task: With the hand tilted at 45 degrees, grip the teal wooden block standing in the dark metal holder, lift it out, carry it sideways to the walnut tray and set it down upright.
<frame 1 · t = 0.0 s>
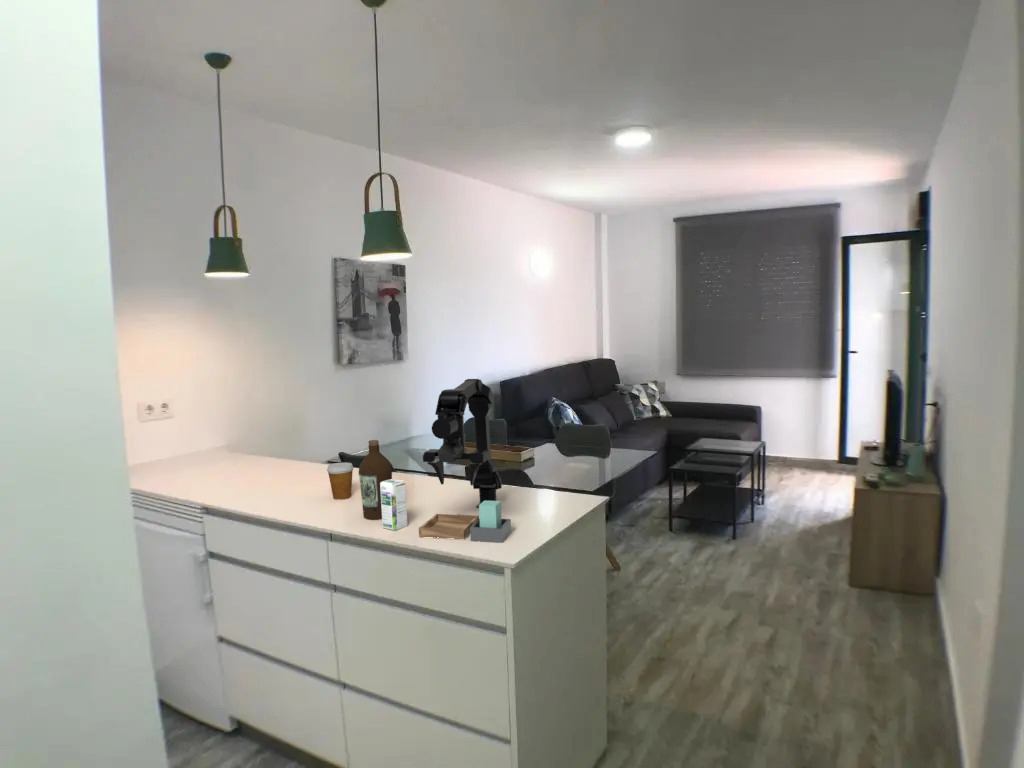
hand: (457, 484, 198), 15 cm above the counter, tool pointing down, fingers open, 9 cm apart
block: (490, 519, 195), in the holder
disposable coffee cup: (342, 497, 245), on the counter
syrup box: (395, 527, 208), on the counter
holder: (491, 536, 195), on the counter
tray: (449, 530, 202), on the counter
olive oil: (377, 516, 221), on the counter
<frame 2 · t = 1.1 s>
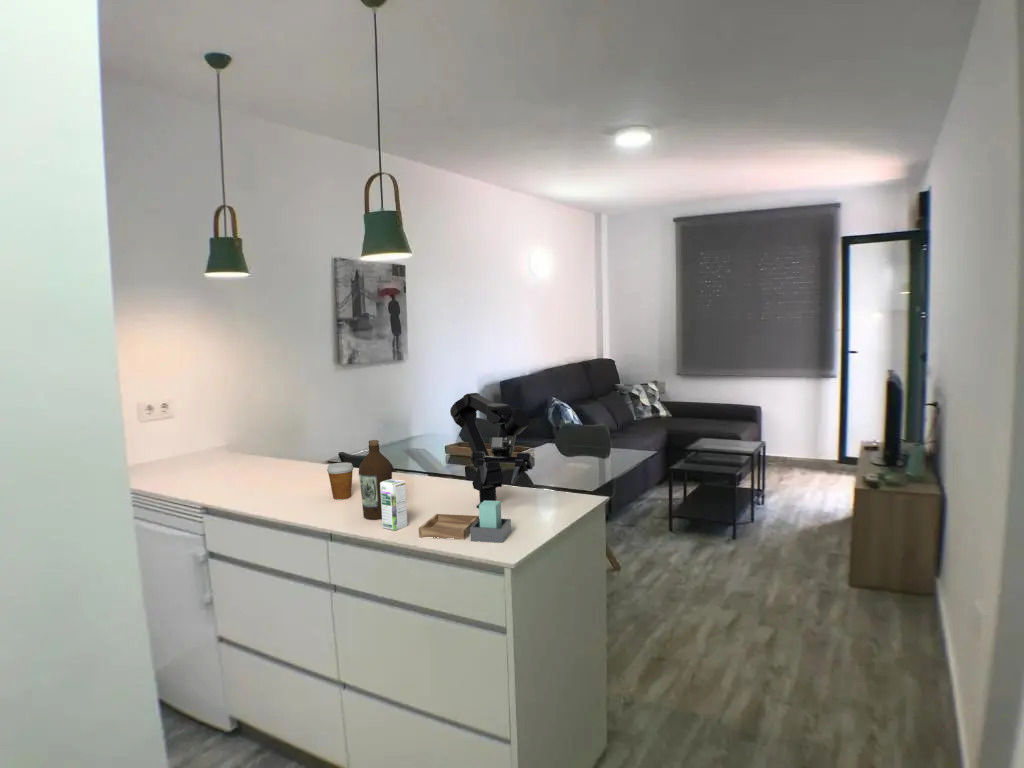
hand: (497, 484, 201), 14 cm above the counter, tool tilted 45°, fingers open, 9 cm apart
nothing on the counter moved.
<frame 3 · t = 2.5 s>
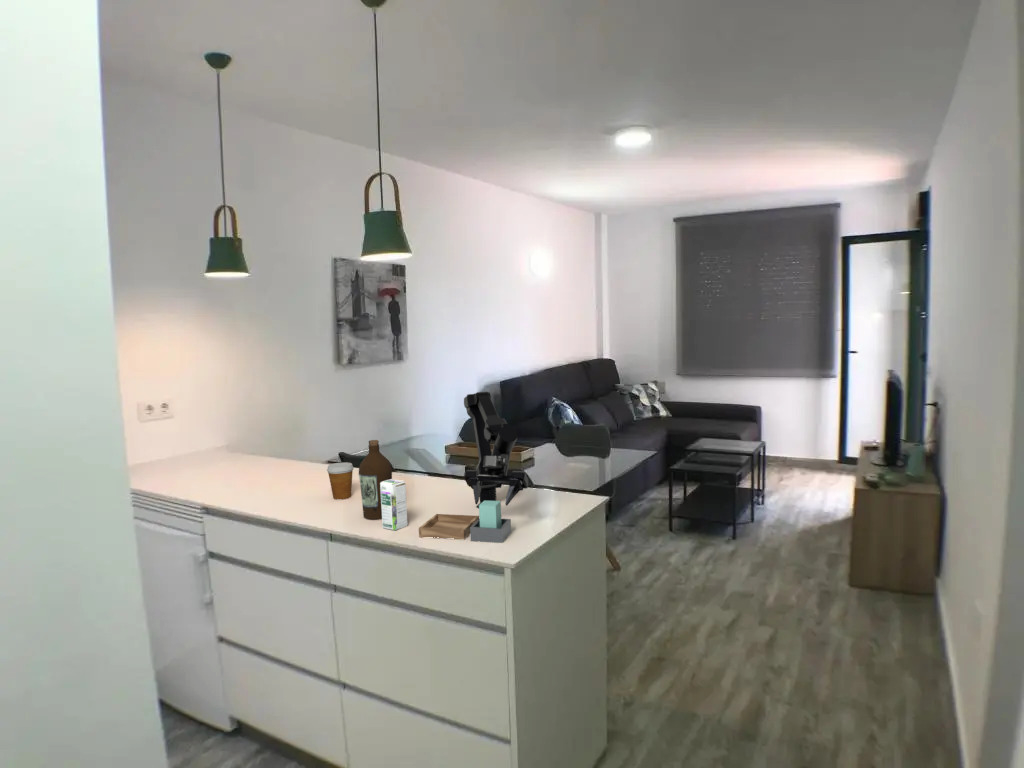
hand: (491, 504, 195), 9 cm above the counter, tool tilted 45°, fingers open, 9 cm apart
nothing on the counter moved.
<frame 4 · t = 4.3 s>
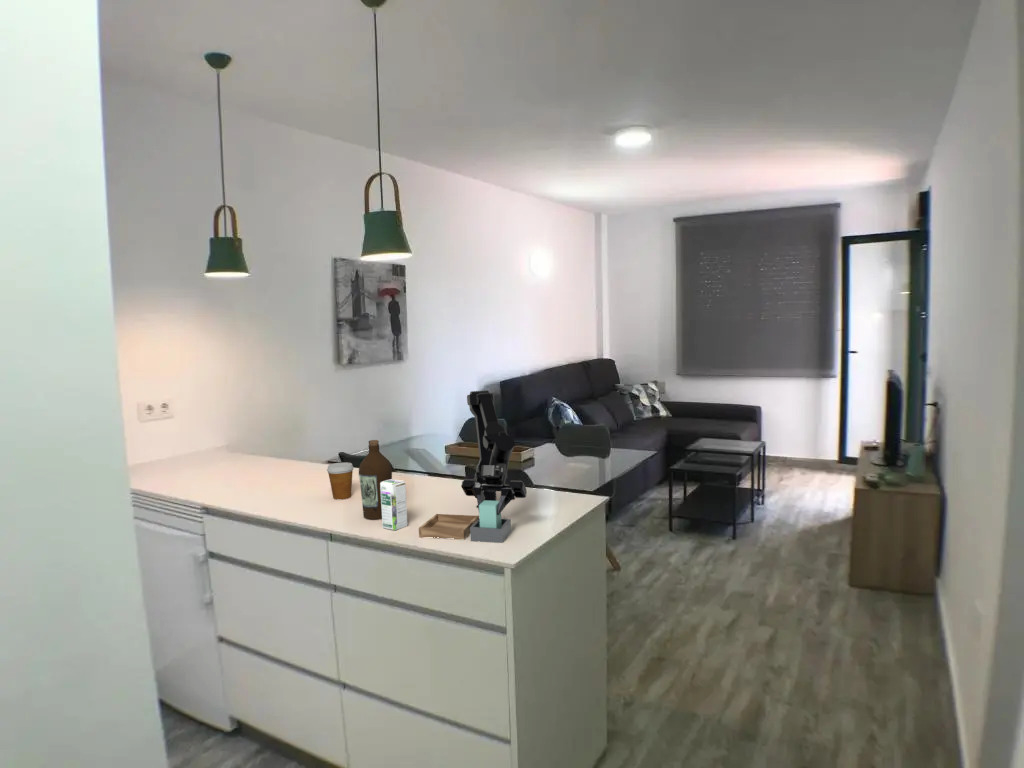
hand: (488, 514, 193), 7 cm above the counter, tool tilted 45°, fingers closed on block, 5 cm apart
block: (490, 519, 195), in the holder, touching gripper
everything else where it was.
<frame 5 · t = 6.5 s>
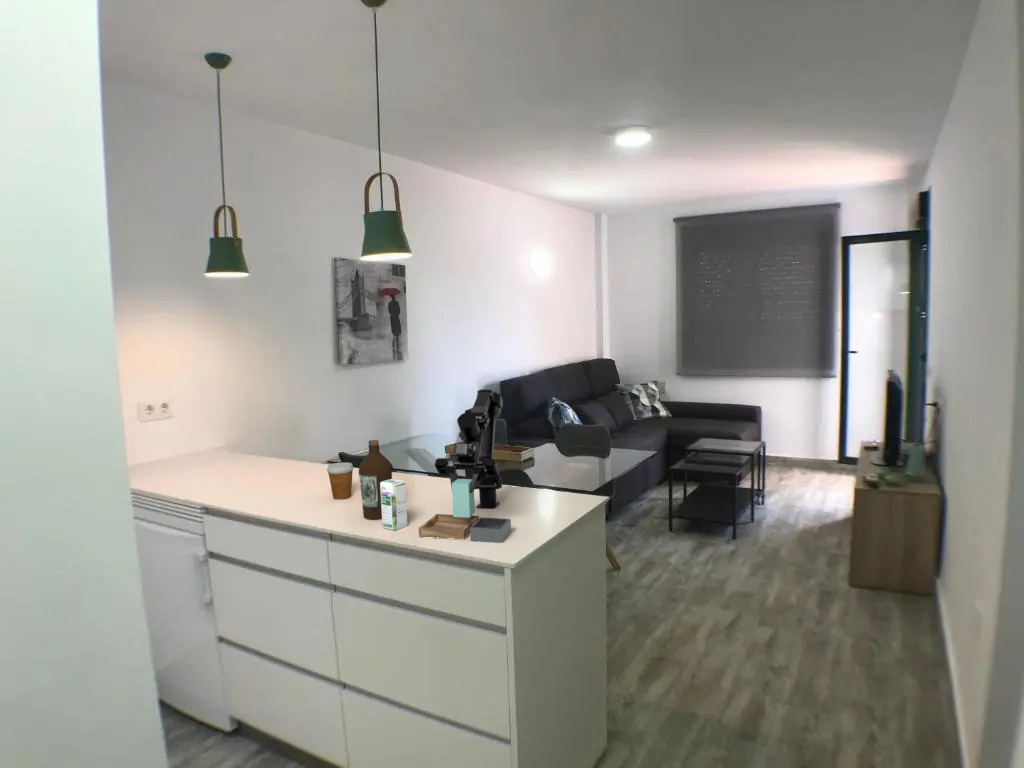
hand: (461, 492, 195), 13 cm above the counter, tool tilted 45°, fingers closed on block, 5 cm apart
block: (463, 497, 196), point 11 cm above the counter, touching gripper
everything else where it was.
when the fingers open (9 cm above the counter, at t = 8.9 s): block drops 1 cm, resting on tray.
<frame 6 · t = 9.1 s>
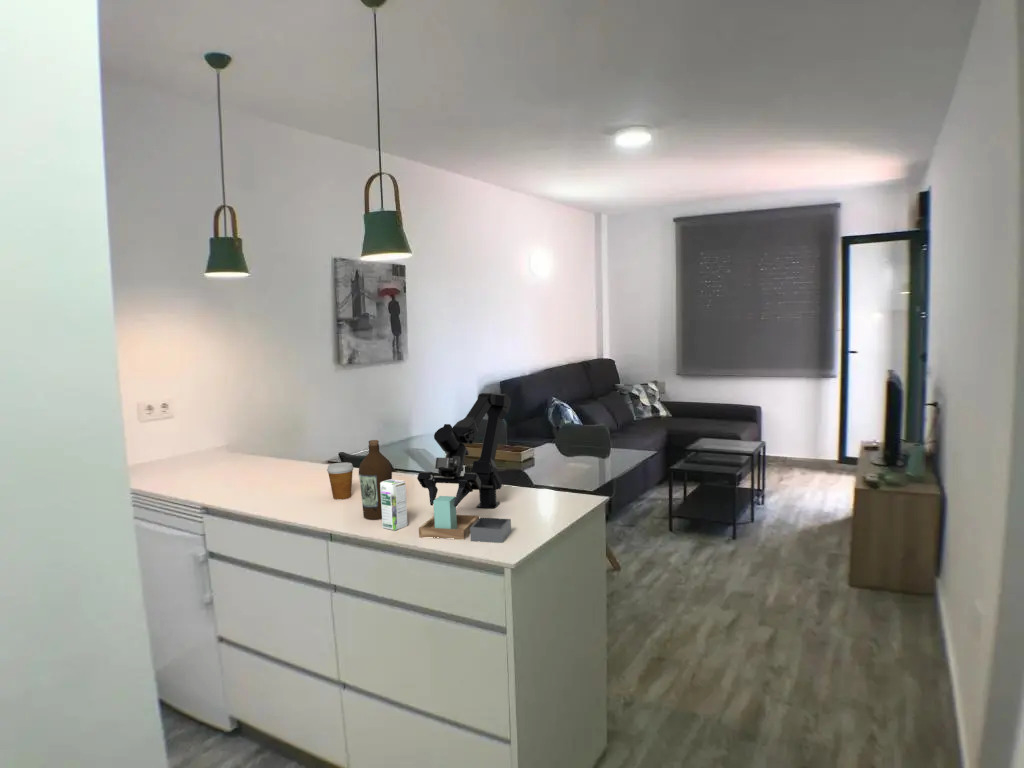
hand: (443, 505, 197), 9 cm above the counter, tool tilted 45°, fingers open, 7 cm apart
block: (445, 515, 199), in the tray, point 6 cm above the counter
everything else where it was.
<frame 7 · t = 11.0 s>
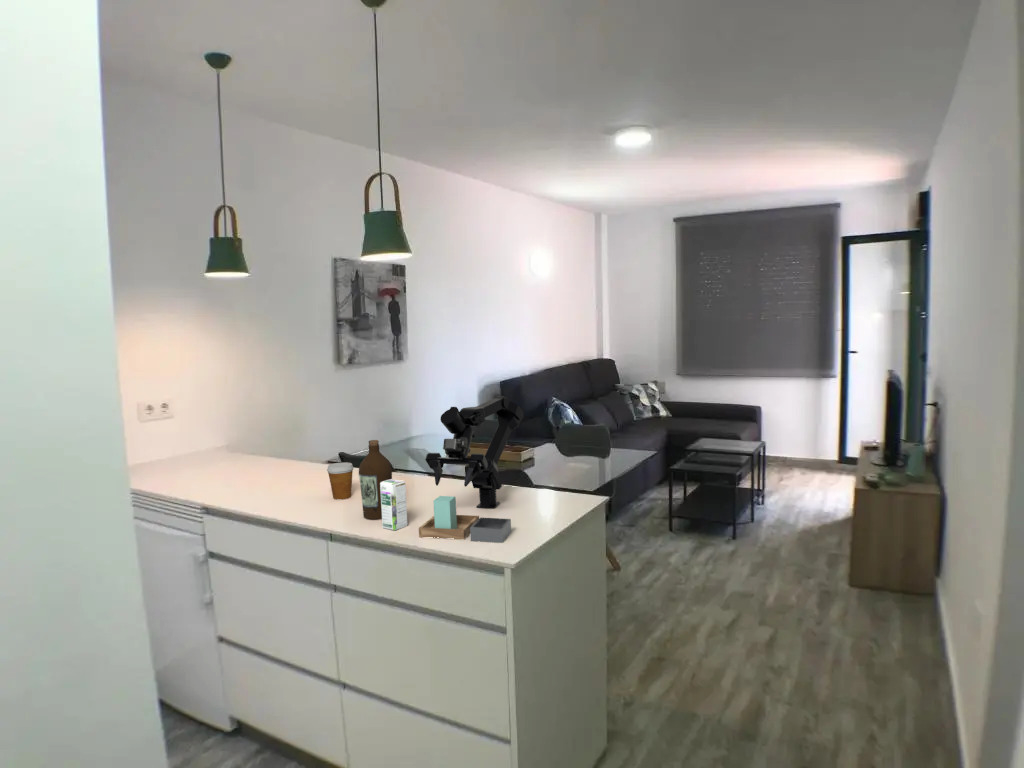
hand: (450, 485, 202), 13 cm above the counter, tool tilted 45°, fingers open, 9 cm apart
nothing on the counter moved.
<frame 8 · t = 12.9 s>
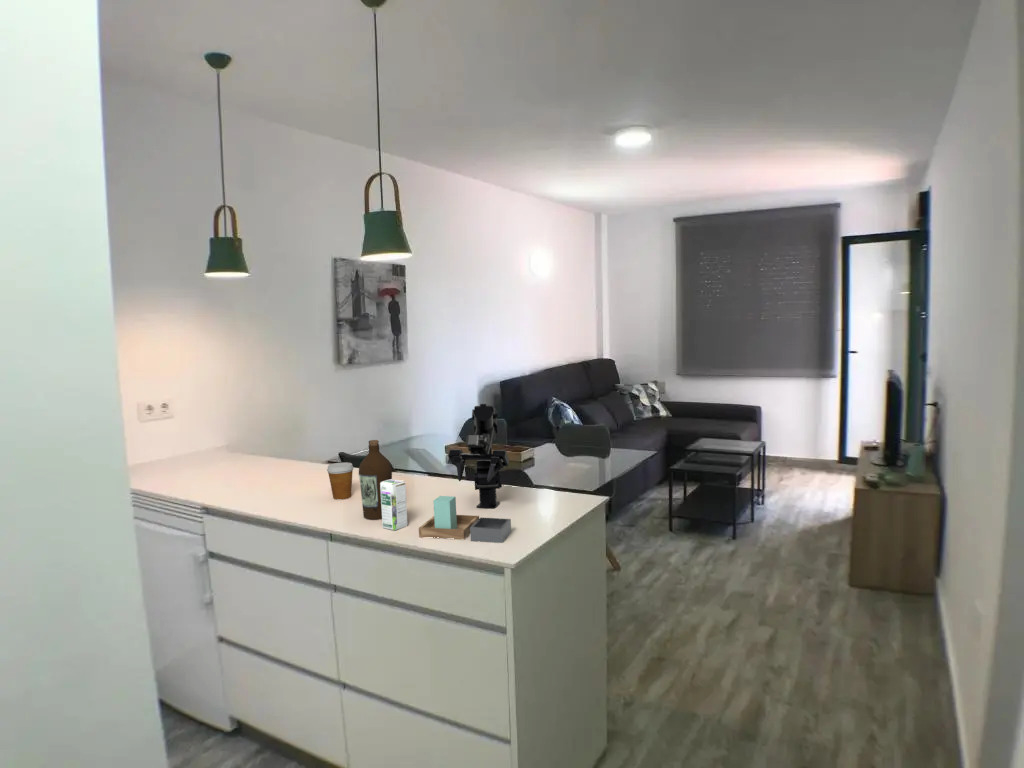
hand: (473, 480, 206), 14 cm above the counter, tool tilted 45°, fingers open, 9 cm apart
nothing on the counter moved.
at the end: block inside the target area on the tray (3.0 cm from its centre), point 5.8 cm above the tray's base; block tilted 0°; the gripper is holding nothing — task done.
